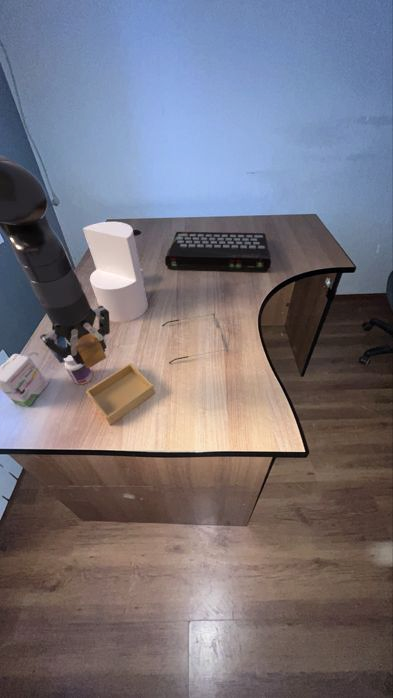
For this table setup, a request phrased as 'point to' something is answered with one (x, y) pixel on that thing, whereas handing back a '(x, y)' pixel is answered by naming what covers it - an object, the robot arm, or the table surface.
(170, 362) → the eyeglasses
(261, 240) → the computer keyboard
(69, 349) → the robot arm
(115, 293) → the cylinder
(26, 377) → the ink box
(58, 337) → the slate bin
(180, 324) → the table surface
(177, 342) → the table surface
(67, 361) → the pill bottle
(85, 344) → the ochre block
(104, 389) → the sand bin
